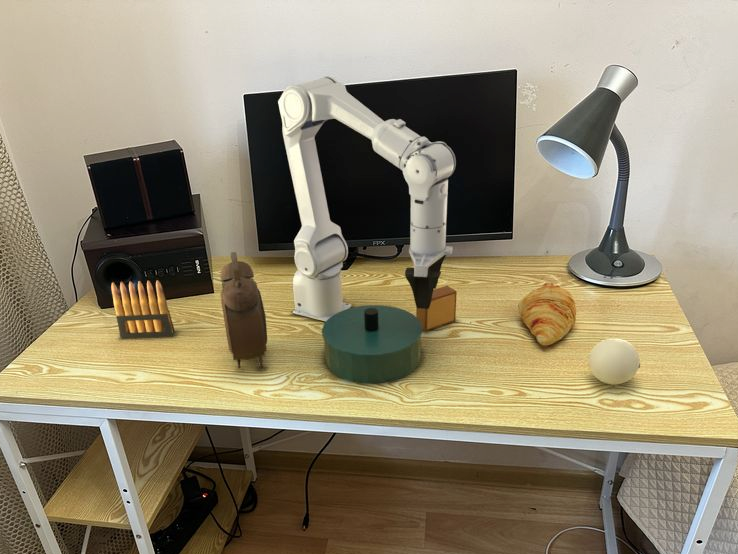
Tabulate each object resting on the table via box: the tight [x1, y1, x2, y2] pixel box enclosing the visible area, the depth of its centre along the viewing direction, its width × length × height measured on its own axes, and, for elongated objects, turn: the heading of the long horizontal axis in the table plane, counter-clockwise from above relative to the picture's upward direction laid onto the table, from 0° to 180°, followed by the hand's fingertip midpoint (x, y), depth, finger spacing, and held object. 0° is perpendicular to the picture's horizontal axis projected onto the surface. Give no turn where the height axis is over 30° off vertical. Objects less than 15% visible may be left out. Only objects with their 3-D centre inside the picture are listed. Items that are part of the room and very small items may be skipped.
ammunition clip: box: [111, 279, 176, 340], centre depth 124 cm, size 11×2×12 cm, turn 86°
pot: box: [323, 336, 422, 384], centre depth 113 cm, size 17×17×5 cm
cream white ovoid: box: [588, 337, 641, 386], centre depth 102 cm, size 10×7×7 cm
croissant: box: [517, 282, 577, 346], centre depth 118 cm, size 21×10×8 cm, turn 162°
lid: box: [321, 304, 423, 357], centre depth 110 cm, size 17×17×4 cm
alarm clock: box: [219, 251, 268, 370], centre depth 112 cm, size 14×7×20 cm, turn 9°
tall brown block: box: [415, 285, 458, 332], centre depth 121 cm, size 3×7×6 cm, turn 116°
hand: (426, 297), depth 110 cm, fingers open, 7 cm apart
